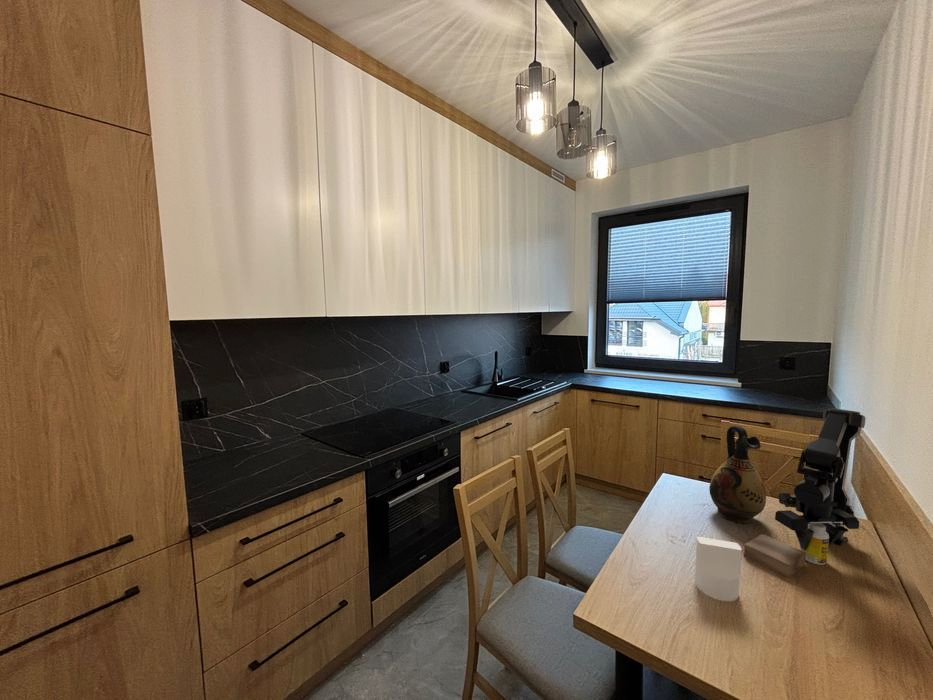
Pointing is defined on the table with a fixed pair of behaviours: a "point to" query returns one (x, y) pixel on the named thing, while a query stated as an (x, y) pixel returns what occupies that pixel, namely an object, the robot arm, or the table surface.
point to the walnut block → (775, 555)
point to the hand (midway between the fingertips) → (813, 548)
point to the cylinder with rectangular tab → (718, 568)
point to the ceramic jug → (738, 480)
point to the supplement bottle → (817, 545)
